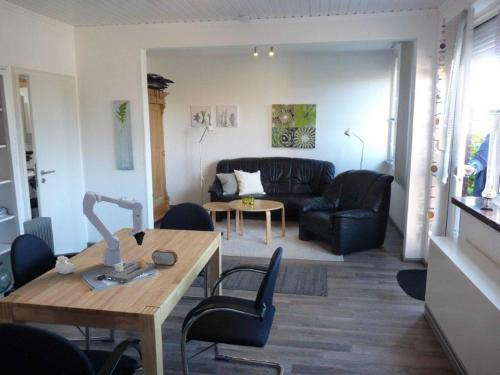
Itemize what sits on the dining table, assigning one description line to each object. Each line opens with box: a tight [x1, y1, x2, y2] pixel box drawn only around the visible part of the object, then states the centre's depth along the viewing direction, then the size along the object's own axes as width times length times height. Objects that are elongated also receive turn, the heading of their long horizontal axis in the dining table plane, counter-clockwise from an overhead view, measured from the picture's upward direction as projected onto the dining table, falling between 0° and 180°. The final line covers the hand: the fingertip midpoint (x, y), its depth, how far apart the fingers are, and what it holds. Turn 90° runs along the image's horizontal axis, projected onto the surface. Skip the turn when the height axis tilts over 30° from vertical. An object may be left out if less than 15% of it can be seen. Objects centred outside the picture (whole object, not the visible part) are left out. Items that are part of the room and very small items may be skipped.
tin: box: [151, 248, 179, 266], centre depth 229 cm, size 15×3×8 cm, turn 74°
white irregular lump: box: [55, 255, 77, 275], centre depth 218 cm, size 12×8×11 cm
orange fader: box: [136, 258, 146, 268], centre depth 220 cm, size 3×3×4 cm
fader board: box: [103, 259, 157, 284], centre depth 218 cm, size 15×23×2 cm, turn 155°
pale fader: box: [114, 263, 124, 272], centre depth 215 cm, size 3×3×4 cm
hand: (139, 244), depth 235 cm, fingers closed
